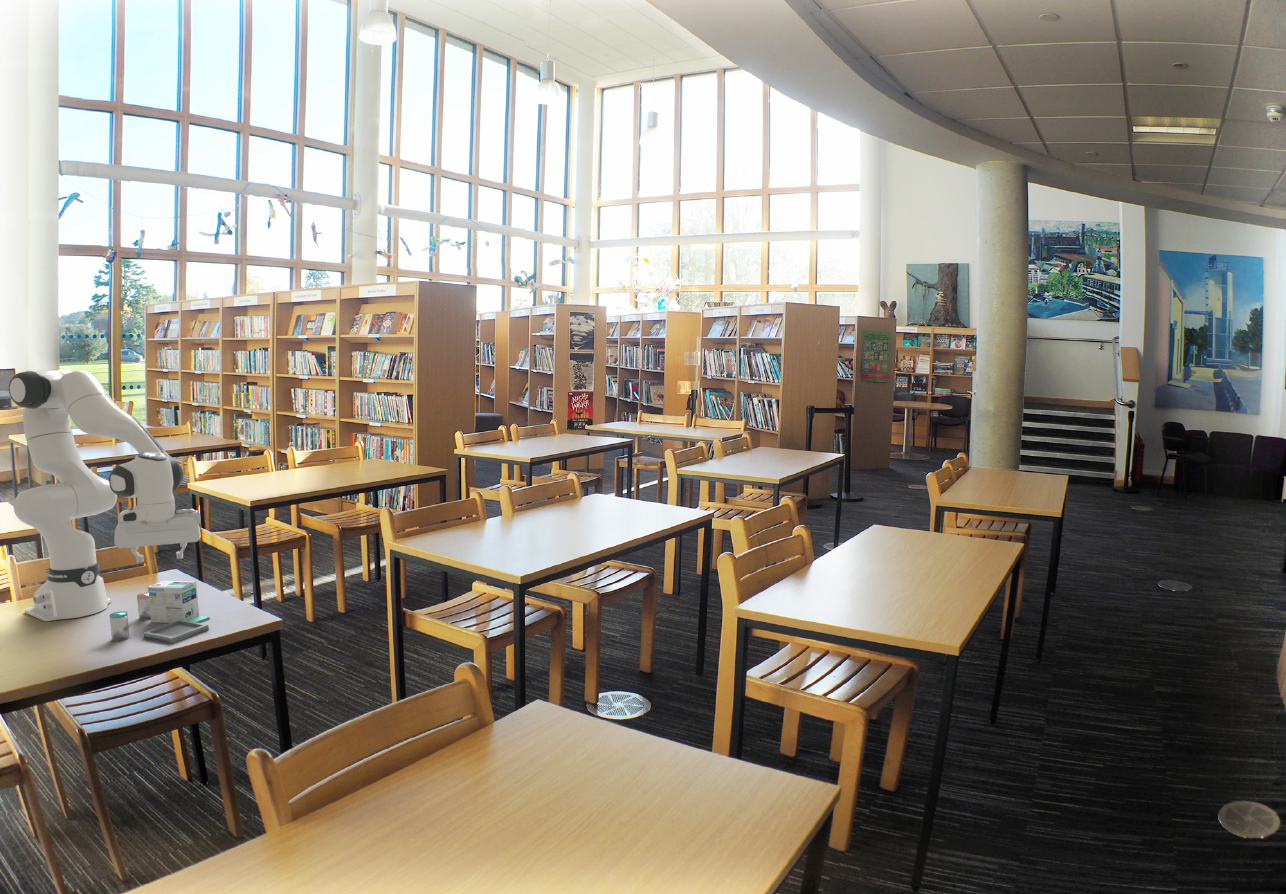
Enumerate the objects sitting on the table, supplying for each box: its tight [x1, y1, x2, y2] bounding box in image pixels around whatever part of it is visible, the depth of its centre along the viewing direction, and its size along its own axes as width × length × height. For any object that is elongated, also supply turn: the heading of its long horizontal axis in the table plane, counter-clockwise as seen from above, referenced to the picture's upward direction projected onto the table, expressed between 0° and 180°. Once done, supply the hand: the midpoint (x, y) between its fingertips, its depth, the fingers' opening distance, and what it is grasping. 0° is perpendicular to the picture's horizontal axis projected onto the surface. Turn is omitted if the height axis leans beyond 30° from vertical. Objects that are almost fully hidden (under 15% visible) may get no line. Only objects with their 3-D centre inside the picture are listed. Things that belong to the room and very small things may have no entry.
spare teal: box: [109, 610, 131, 642], centre depth 212 cm, size 4×4×7 cm
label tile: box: [188, 615, 211, 623], centre depth 225 cm, size 3×5×1 cm, turn 158°
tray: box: [142, 620, 210, 645], centre depth 215 cm, size 11×11×2 cm
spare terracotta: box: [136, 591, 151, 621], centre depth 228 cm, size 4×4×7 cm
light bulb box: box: [147, 579, 200, 624], centre depth 226 cm, size 11×7×11 cm, turn 84°
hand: (160, 560), depth 217 cm, fingers open, 8 cm apart
